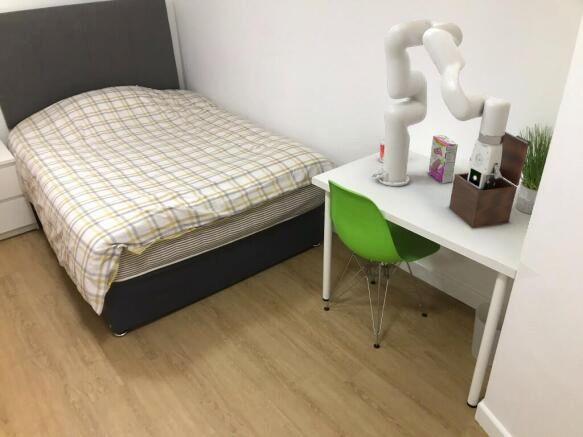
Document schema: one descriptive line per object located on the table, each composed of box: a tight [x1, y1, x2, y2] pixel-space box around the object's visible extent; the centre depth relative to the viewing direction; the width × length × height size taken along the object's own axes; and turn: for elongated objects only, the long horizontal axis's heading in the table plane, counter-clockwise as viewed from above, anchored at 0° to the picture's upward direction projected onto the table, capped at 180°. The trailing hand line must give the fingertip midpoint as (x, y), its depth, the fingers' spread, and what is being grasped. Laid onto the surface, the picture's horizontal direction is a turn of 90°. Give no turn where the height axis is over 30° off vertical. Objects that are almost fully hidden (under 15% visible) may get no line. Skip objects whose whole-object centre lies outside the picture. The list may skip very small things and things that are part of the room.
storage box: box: [448, 171, 518, 229], centre depth 159 cm, size 14×15×13 cm
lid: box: [499, 131, 531, 187], centre depth 154 cm, size 15×15×6 cm
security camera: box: [467, 165, 495, 191], centre depth 156 cm, size 6×7×10 cm
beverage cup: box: [379, 138, 385, 163], centre depth 204 cm, size 6×6×14 cm
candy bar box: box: [428, 134, 459, 184], centre depth 186 cm, size 11×5×16 cm, turn 14°
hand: (480, 187), depth 157 cm, fingers closed on security camera, 7 cm apart
